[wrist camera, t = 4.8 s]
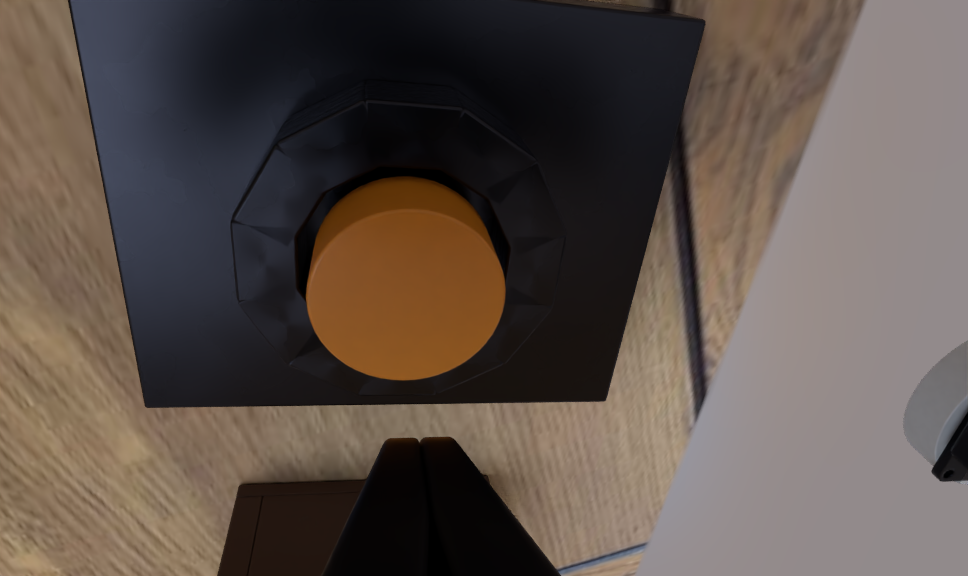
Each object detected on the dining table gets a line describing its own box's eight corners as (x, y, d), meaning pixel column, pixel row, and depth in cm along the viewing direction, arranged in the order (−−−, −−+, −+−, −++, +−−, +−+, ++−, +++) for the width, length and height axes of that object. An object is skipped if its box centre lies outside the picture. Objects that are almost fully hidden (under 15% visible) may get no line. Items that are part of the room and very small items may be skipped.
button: (500, 180, 12) (519, 214, 11) (480, 333, 14) (493, 381, 12) (311, 169, 11) (302, 204, 10) (315, 331, 13) (307, 383, 12)
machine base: (664, 9, 14) (755, 31, 11) (583, 357, 19) (629, 447, 16) (104, -58, 12) (-2, -56, 9) (169, 356, 17) (118, 462, 13)
